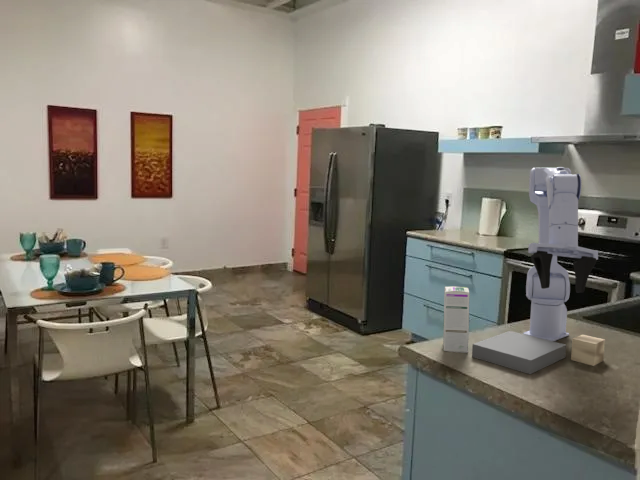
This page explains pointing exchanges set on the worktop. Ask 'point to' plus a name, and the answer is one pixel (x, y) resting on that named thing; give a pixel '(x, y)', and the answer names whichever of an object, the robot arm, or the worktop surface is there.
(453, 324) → the syrup box
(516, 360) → the plate
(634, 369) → the worktop surface
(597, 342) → the birch block
